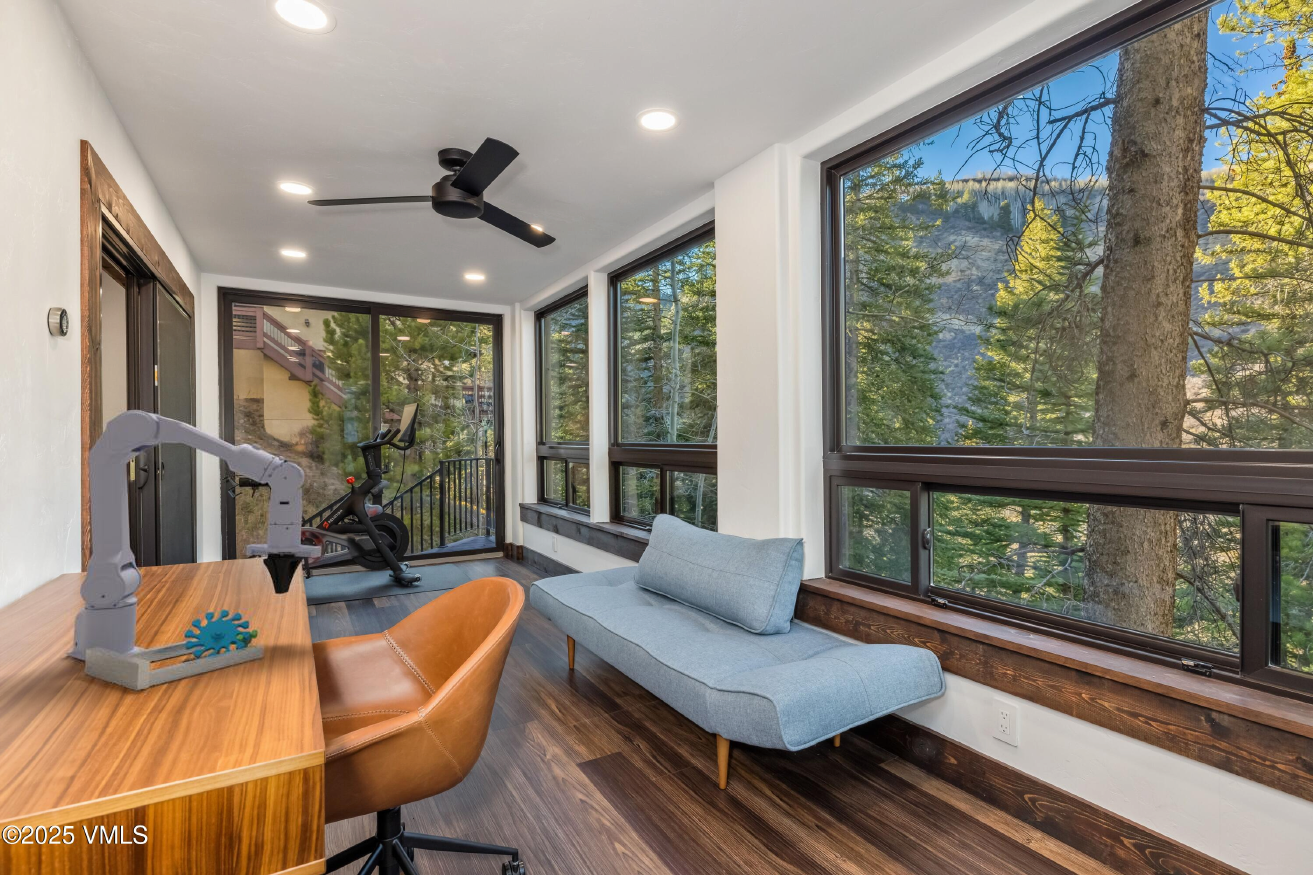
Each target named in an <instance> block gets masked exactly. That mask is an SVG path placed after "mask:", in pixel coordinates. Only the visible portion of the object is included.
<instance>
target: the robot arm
mask: <svg viewBox="0 0 1313 875" xmlns="http://www.w3.org/2000/svg"><path fill="white" fill-rule="evenodd" d="M163 443H168V444H169V443H170V444H179V443H180V444H181V443H182V444H184V445H187V446H189V447H191V448H193V449H197V450H199V451H202V452H204V453H206V454H208V455H209V454H210V455H212V456H214V457H217V458H219V459H222V460H225V461H226V463H227V465H228V468H229V470H230V471H232V472H234V473H236V474H239V475H241V476H244V477H246V478H248V479H252V480H253V481H255V482H257V483H261V484H266V483H268V486H270V488H271V489H270V499H269V503H268V504H269V505H268V523H267V539H266V540H267V542H266V544H265V543H263V544H258V543H257V544H247V545H246V547H245V555H246V556H253V555H254V556H267V557H265V558H263V559H262V560H263V561H262V563H263V565H264V566H265V567H266V569H267V571H268V574H269V576H270V578H271V581H272V586H273V589H274V593H275V594H277V595H283V594H285V593H289V590H290V586H291V583H292V581H293V578H294V576H295V573H296V572H297V570H298V569H299V566H300V564H301V563H302V562H303V559H304V558H306V557H307V558H312V559H313V558H318V557H321V556H322V546H316V545H308V544H307V545H306V544H305V545H304V544H301V541H302V540H301V538H302V521H303V520H302V519H303V518H302V517H303V499H302V497H303V488H302V486H303V485H304V482H305V473H304V470H303V468H301V466H299V465H297V464H296V463H295V462H289V461H286V462H285V460H286V458H285V456H281V455H280V456H276V455H273V454H271V453H268V452H267V451H264V450H263V449H261V448H262V447H261V446H260V445H258V444H256V443H253V444H252V445H250V444H249V443H242V444H240V445H233V444H231V443H229V442H226V441H224V440H223V439H221V438H219V437H216V436H214V435H212V434H210V433H208V432H206V431H204V430H201V429H199V428H197V427H195V426H193V425H191V424H189V423H186V422H182V421H180V420H176V419H173V418H169V417H165V416H162V415H160V414H157V413H153V412H151V413H150V412H146V411H144V410H139V409H131V410H126V411H122V413H120V414H119V415H117V416H115V417H113V418H112V419H111V420H109V421H107V423H106V425H105V429H104V431H103V432H102V434H101V435H100V437H99V438H98V439H97V441H96V443H95V444H94V445H93V446H92V448H91V449H90V451H89V454H88V471H89V472H88V474H89V494H90V498H89V499H90V518H91V542H92V545H91V546H92V547H91V548H92V554H91V556H90V558H89V560H88V563H87V565H86V576H85V578H84V580H83V581H82V583H81V586H80V596H81V598H82V600H83V601H84V607H82V608H81V609H80V610H79V611H78V612H77V613H76V616H75V620H74V630H73V646H72V647H73V648H72V650H71V651H67V652H66V653H65V655H66V656H68V657H71V658H75V659H79V660H81V661H84V662H85V661H86V649H89V648H94V647H100V648H103V649H107V650H110V651H114V652H118V653H121V654H127V653H131V652H136V651H141V650H146V648H143V647H139V646H135V645H136V644H135V643H136V624H137V610H138V608H137V607H138V598H137V597H136V595H135V593H136V592H137V591H138V589H139V588H140V587H141V584H142V582H143V575H142V573H141V571H140V570H139V569H138V567H137V565H136V560H135V559H136V556H135V554H134V553H133V551H132V549H131V545H130V544H131V543H130V522H129V518H130V517H129V499H128V498H129V497H128V474H127V472H128V471H127V470H128V469H127V464H128V463H129V462H130V461H132V459H134V458H136V456H138V455H139V454H140V453H142V452H144V451H147V450H148V449H152V448H154V447H156V446H158V445H161V444H163Z"/></svg>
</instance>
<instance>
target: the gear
mask: <svg viewBox="0 0 1313 875" xmlns="http://www.w3.org/2000/svg"><path fill="white" fill-rule="evenodd" d="M229 615H230V611H229V610H227V609H222V610H220V615H219V617H218V618H216V620H213V619H214V617H215V612H213V611H210V612H205V615H204V619H206V621H207V623H206V624H205V625H201V624H202V623H201V622H202V621H201V619H200V618H196V619H194V620H193V621H192V622H191V626H192V627H193V628H195V629H197V630H198V631H199V633H195V632H194V630H193V629H191V628H190V629H189V628H188V629H186V631H185V633H184V638H185V639H197V640H199V642H193V641H188V640H185V641H186V650H189V649H192V648H194V647H199V646H201V647H205V648H204V649H196V650H194V651H193V653H192V655H193V657H194V658H196V659H201V657H202V656H203V655H204V654H205V653H207V652H209V651H212V652H210V653H208V654H207V655H206V657H210V656H214V655H218V654H219V652H220V651H221V650H222V649H225V650H224V651H223V652H222V653H226V652H231V651H232V650H231V649H230V648H231V647H230V646H232V645H234V646H235V650H239V649H243V648H247V647H249V645H250V644H251V643H252V641H253V639H256V638H258V635H259V634H258V633H259V631H258V629H253V630H252V631H248V630H247V629H249V628H250V621H249V620H244V621H242V622H239V621H241V620H243V615H242V614H241V613H240V612H236V613H234V614H233V616H232V617H230V618H228V617H229ZM226 618H227V619H226ZM234 622H237V623H234ZM238 628H240V629H241V628H242V629H243V630H247V631H243V630H239V629H238Z"/></svg>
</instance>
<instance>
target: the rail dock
mask: <svg viewBox="0 0 1313 875" xmlns="http://www.w3.org/2000/svg"><path fill="white" fill-rule="evenodd" d="M186 641H193V642H199V640H197V639H195V638H191V639H189V640H184V641H179V642H175V643H170V644H165V645H160V646H155V647H150V648H147V649H146V648H145V650H141V651H136V652H131V653H127V654H121V653H118V652H114V651H110V650H107V649H103V648H100V647H94V648H89V649H86V661H84V662H85V664H84V665H85V666H84V675H86V674H87V676H90V677H92V678H96V679H98V680H102V681H106V682H108V683H111V682H112V683H111V684H114V683H116V684H115V685H117V684H118V685H117V686H121V685H123V686H122V687H124V686H125V687H124V688H127V689H129V690H133V689H134V691H137V692H138V690H139V691H141V689H143V690H145V689H149V688H150V687H154V686H158V685H162V684H165V682H166V683H169V682H173V681H177V680H181V679H184V678H188V677H193V676H196V675H199V674H203V673H208V672H211V671H216V670H219V669H222V668H227V667H231V666H235V665H238V664H242V663H247V662H250V661H253V660H258V659H261V658H263V657H264V646H263V645H261V644H256V645H251V646H248V647H247V648H243V649H239V650H236V649H235V650H231V652H226V653H223V652H222V653H217V655H214V656H210V657H207V656H206V657H203V658H201V657H200V658H196V659H194V660H190V661H186V662H181V663H177V664H174V665H173V664H172V665H169V666H165V667H161V668H156V669H153V670H150V669H151V668H150V667H151V663H153V662H152V661H154V662H158V661H162V660H165V659H166V658H167V659H171V658H175V657H178V656H179V657H180V656H183V655H189V654H193V651H194V650H196V649H204V648H205V647H201V646H199V647H194V648H192V649H189V650H186ZM170 657H171V658H170ZM153 685H154V686H153Z"/></svg>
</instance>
